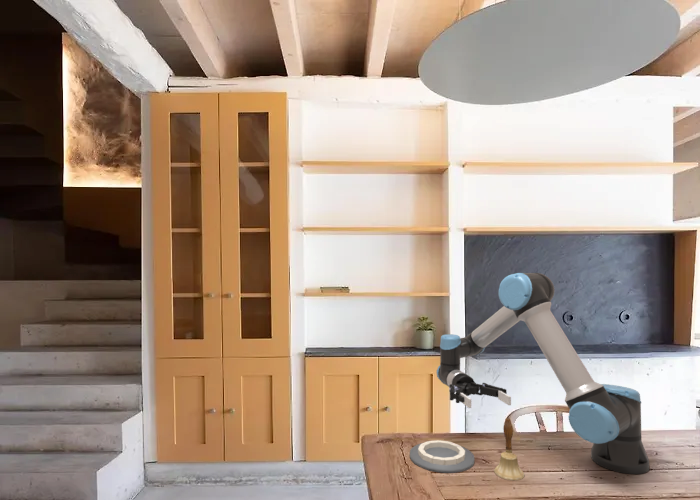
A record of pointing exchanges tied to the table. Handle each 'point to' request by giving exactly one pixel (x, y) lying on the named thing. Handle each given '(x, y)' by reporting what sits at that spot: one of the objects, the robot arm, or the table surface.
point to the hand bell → (508, 458)
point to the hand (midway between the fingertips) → (490, 402)
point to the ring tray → (442, 457)
